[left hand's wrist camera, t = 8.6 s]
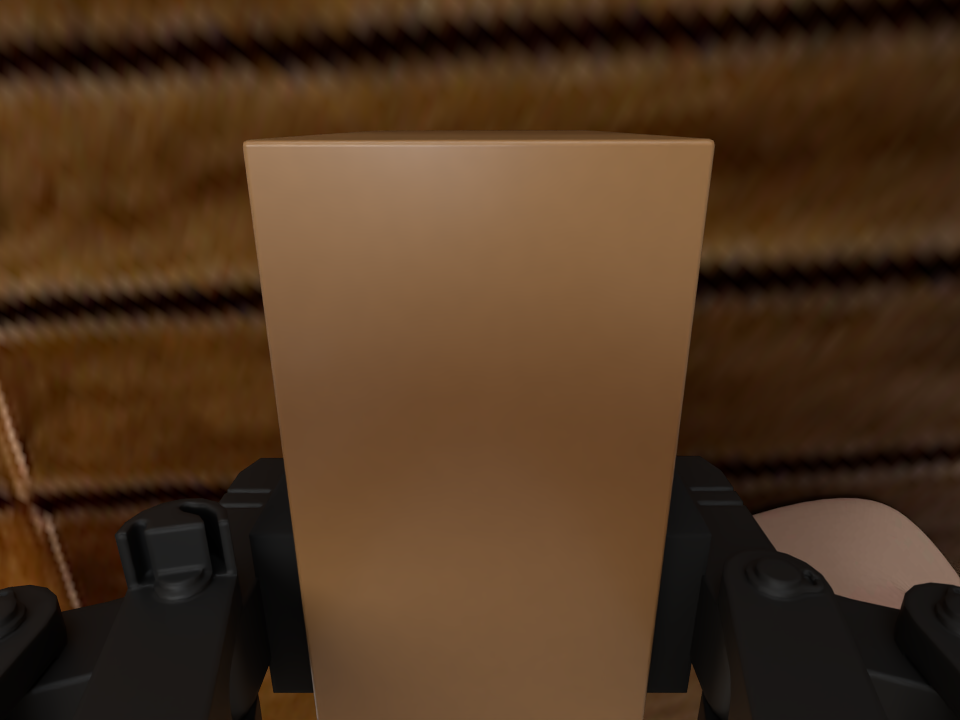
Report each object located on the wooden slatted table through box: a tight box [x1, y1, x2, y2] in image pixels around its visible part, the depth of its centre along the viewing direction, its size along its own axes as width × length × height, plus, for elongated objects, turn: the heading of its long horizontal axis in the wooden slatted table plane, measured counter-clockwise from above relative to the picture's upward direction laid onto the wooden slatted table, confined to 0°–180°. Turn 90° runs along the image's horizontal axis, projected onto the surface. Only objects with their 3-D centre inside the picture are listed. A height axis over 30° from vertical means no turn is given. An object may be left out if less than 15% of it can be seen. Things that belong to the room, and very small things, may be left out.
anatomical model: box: [752, 498, 960, 609], centre depth 27 cm, size 13×4×12 cm
